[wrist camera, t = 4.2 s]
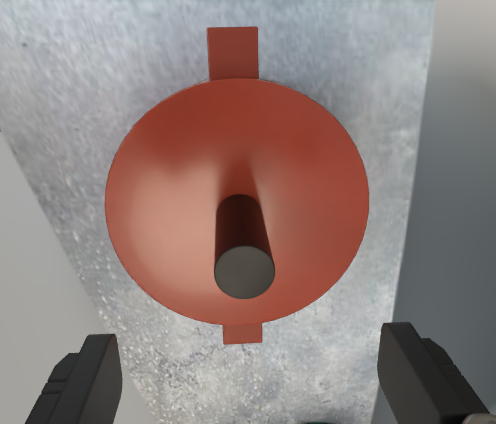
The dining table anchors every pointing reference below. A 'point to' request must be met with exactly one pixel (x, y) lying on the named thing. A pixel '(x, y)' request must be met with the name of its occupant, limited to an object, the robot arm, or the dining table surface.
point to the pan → (234, 66)
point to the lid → (237, 201)
